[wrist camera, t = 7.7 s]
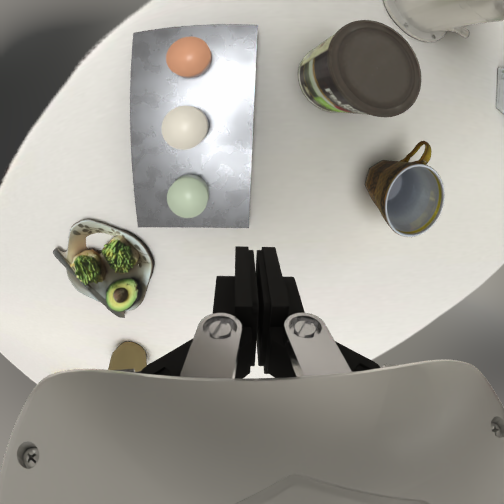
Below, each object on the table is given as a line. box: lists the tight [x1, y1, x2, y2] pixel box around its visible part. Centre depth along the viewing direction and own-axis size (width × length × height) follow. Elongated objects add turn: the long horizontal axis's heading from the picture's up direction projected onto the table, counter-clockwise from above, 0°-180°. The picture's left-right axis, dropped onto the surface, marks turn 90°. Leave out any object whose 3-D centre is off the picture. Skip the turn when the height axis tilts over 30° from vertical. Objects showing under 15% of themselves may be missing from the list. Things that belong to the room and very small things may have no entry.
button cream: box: [162, 106, 208, 150], centre depth 31 cm, size 5×5×5 cm
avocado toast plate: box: [53, 219, 154, 318], centre depth 43 cm, size 19×18×5 cm
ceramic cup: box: [365, 141, 445, 237], centre depth 35 cm, size 13×10×10 cm
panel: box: [130, 24, 258, 228], centre depth 34 cm, size 16×28×3 cm, turn 178°
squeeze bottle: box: [108, 342, 147, 372], centre depth 47 cm, size 8×8×18 cm
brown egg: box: [166, 37, 212, 78], centre depth 28 cm, size 5×5×5 cm
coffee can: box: [298, 20, 421, 117], centre depth 26 cm, size 10×10×14 cm
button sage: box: [167, 174, 209, 218], centre depth 37 cm, size 5×5×5 cm
